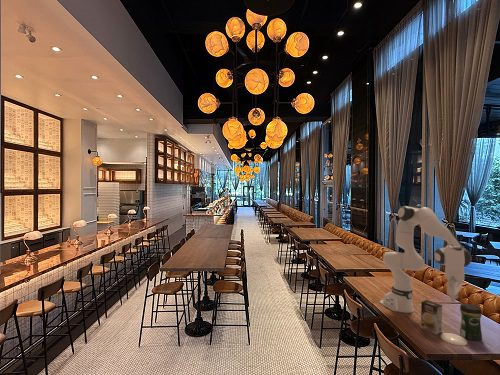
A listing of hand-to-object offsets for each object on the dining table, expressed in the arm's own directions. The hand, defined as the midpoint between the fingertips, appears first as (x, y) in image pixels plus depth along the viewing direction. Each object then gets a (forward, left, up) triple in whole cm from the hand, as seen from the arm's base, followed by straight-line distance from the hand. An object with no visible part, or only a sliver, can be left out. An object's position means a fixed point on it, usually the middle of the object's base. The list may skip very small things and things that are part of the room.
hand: (454, 300), depth 159 cm
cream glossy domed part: (0, 0, -22) cm, 22 cm away
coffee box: (-13, 0, -23) cm, 26 cm away
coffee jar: (+2, +12, -23) cm, 26 cm away
